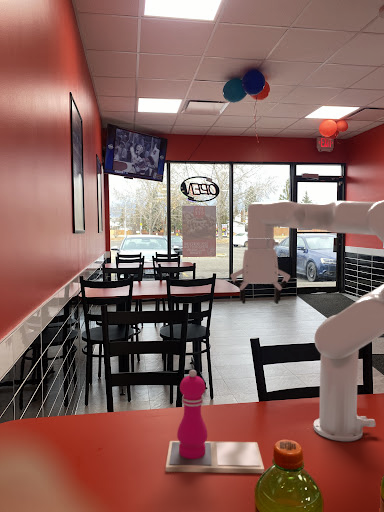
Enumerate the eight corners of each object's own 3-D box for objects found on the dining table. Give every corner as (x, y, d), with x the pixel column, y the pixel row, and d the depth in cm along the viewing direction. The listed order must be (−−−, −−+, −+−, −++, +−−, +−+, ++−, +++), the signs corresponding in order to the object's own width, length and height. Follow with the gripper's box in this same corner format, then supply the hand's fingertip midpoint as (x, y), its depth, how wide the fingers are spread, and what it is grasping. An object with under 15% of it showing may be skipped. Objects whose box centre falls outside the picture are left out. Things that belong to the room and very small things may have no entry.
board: (257, 446, 104) (257, 441, 104) (264, 473, 92) (264, 468, 92) (169, 444, 104) (169, 440, 104) (165, 471, 92) (165, 466, 92)
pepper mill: (208, 445, 101) (209, 365, 100) (206, 461, 94) (207, 375, 93) (179, 444, 102) (179, 364, 101) (175, 459, 95) (175, 374, 94)
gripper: (287, 244, 124) (286, 301, 125) (230, 244, 124) (229, 301, 125) (293, 245, 116) (292, 305, 117) (231, 245, 117) (231, 305, 118)
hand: (259, 303), depth 121 cm, fingers open, 9 cm apart
